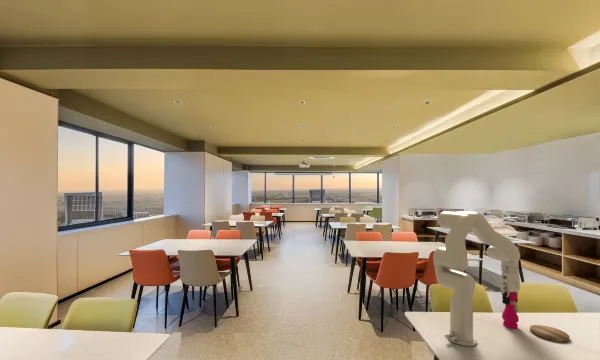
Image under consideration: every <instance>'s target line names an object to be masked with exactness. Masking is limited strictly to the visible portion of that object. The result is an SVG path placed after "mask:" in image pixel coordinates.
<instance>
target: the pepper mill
mask: <svg viewBox="0 0 600 360" xmlns="http://www.w3.org/2000/svg"><path fill="white" fill-rule="evenodd" d="M507 291H508V290H507ZM506 293H507V292H506ZM509 297H510V305H507V304H504V305H505V306H504V310H503V312H502V314H501V318H502V320H503V321H502V325H503V326H504V327H506V328H508V329H512V330H515V329H518V327H519V325H518V323H519V321H520V320H519V315H518V313H517V311H516V304H517V302H516V301H515V300H516V299H517V295H516V293H515V292H512V293H511V292H510V293H509Z"/></svg>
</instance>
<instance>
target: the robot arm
mask: <svg viewBox="0 0 600 360" xmlns="http://www.w3.org/2000/svg"><path fill="white" fill-rule="evenodd" d="M436 220H437V224H438V226H439V227H440V228H442V229H447V230H449V231H448V233H447V234H446V236H445V238H444V243H445V246H441V247H437V248H436V249H435V250H434V252H433V255H432V256H433V257H432V259H433V260H432V261H433V266H434V271H435V272H434V273H435V277H436V281H437V283H438V285H440V286H442V287H443V288H446V289H449V290H452V291H454V292H453V294H452V296H451V297H450V300H449V310H450V311H449V316H450V317H449V321H450V323H449V325H450V326H449V331H448V332H446V334H445V335H444V338H445V339H447V340H449V341H450V342H451V343H454V344H456V345H459V346H464V347H474V346H476V345H477V344H478V340H477V338H476V337H475V336H474V294H475V290H476V280H475V278H474V277H473V276H472V275H470V274H469V273H466V272H463V271H466V270H467V269H468V267H469V259H468V253H467V248H466V239H467V236H468V235H469V233H470V231H471V232H472V233H473V234H474V235H475V237H476V238H477V239H478V240H479V241H480V242H481V243H483V244H486V245H488V248H487V249H486V254H487V256H488V257H489V258H490V259H493V260H495V261H496V260H497V261H500V264H501V265H500V267H501V268H500V269H501V270H500V271H501V278H500V292H501V296H502V297H501V298H502V300H501V302H502V304H503V305H505V304H507V305H510V297H509V293H510V292H511V293H512V292H515V293H516V295H517V299H516V300H515V301H516V303H518V302H519V300H518V299H519V298H518V295H519V291H520V290H521V282H520V280H521V279H520V274H519V273H520V272H519V271H520V270H519V269H520V268H519V267H520V266H519V261H520V259H521V253H520V250H519V247H518V246H516V245H515V243H514V242H513V241H512V240H510V239H509V238H508V237H506V236H504V235H503V234H502V233H499V232H497V231H495V229H494V228H493V227H492V225H491V224H490V223H489V221H488V220H487V219H486V218H485V216H484V215H483V214H482V213H480V212H478V211H466V210H455V211H454V210H453V211H452V210H451V211H450V210H448V211H442V212H440V213H439V214H438V216H437V218H436ZM507 290H508V291H507ZM506 292H507V293H506Z"/></svg>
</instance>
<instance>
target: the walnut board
mask: <svg viewBox="0 0 600 360" xmlns="http://www.w3.org/2000/svg"><path fill="white" fill-rule="evenodd" d="M529 332H530V333H531V334H533V336H535V337H538V338H539V339H543V340H546V341H549V342H553V343H554V342H555V343H559V344H560V343H563V344H564V343H569V342H570V335H569V334H568V333H566V332H564V331H563V330H560V329H558V328H555V327H552V326H548V325H543V324H534V325H533V324H532V325H529Z"/></svg>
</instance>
